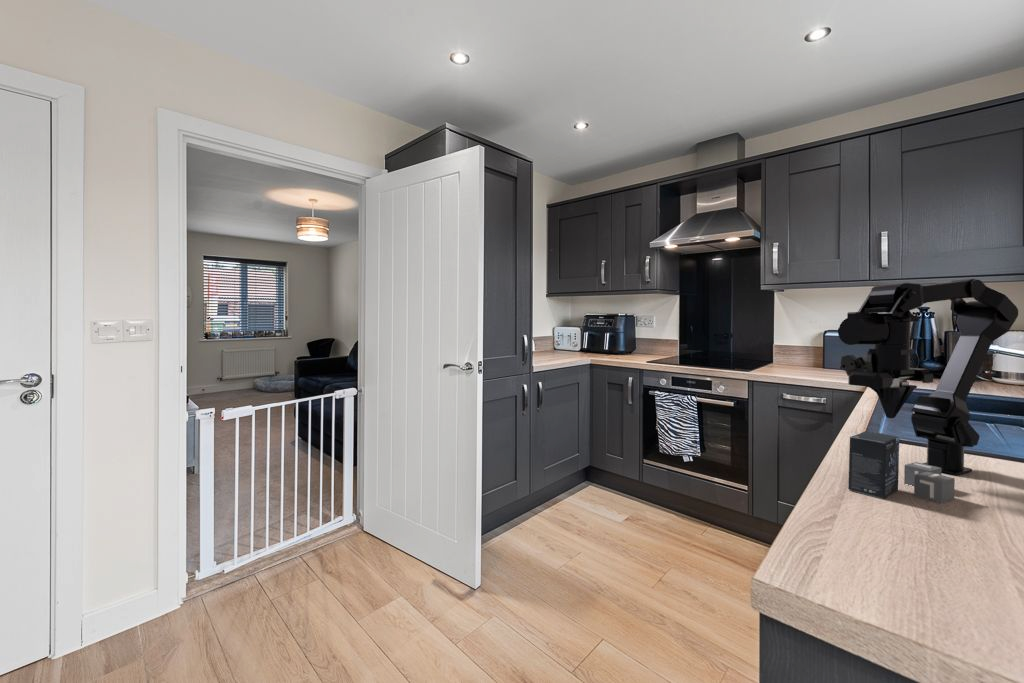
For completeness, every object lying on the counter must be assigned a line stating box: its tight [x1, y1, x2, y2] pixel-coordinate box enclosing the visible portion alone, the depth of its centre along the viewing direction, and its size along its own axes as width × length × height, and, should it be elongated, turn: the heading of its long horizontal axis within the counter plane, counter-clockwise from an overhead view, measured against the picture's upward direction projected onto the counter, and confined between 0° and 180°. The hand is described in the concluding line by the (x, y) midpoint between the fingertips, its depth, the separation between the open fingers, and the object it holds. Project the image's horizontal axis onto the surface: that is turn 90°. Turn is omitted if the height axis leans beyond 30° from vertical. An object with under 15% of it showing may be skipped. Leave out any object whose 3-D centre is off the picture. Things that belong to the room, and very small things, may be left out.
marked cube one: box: [903, 461, 942, 487], centre depth 86 cm, size 4×4×4 cm
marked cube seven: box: [913, 472, 956, 504], centre depth 80 cm, size 4×4×4 cm
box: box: [847, 430, 900, 500], centre depth 84 cm, size 8×6×11 cm
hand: (890, 418), depth 92 cm, fingers closed
